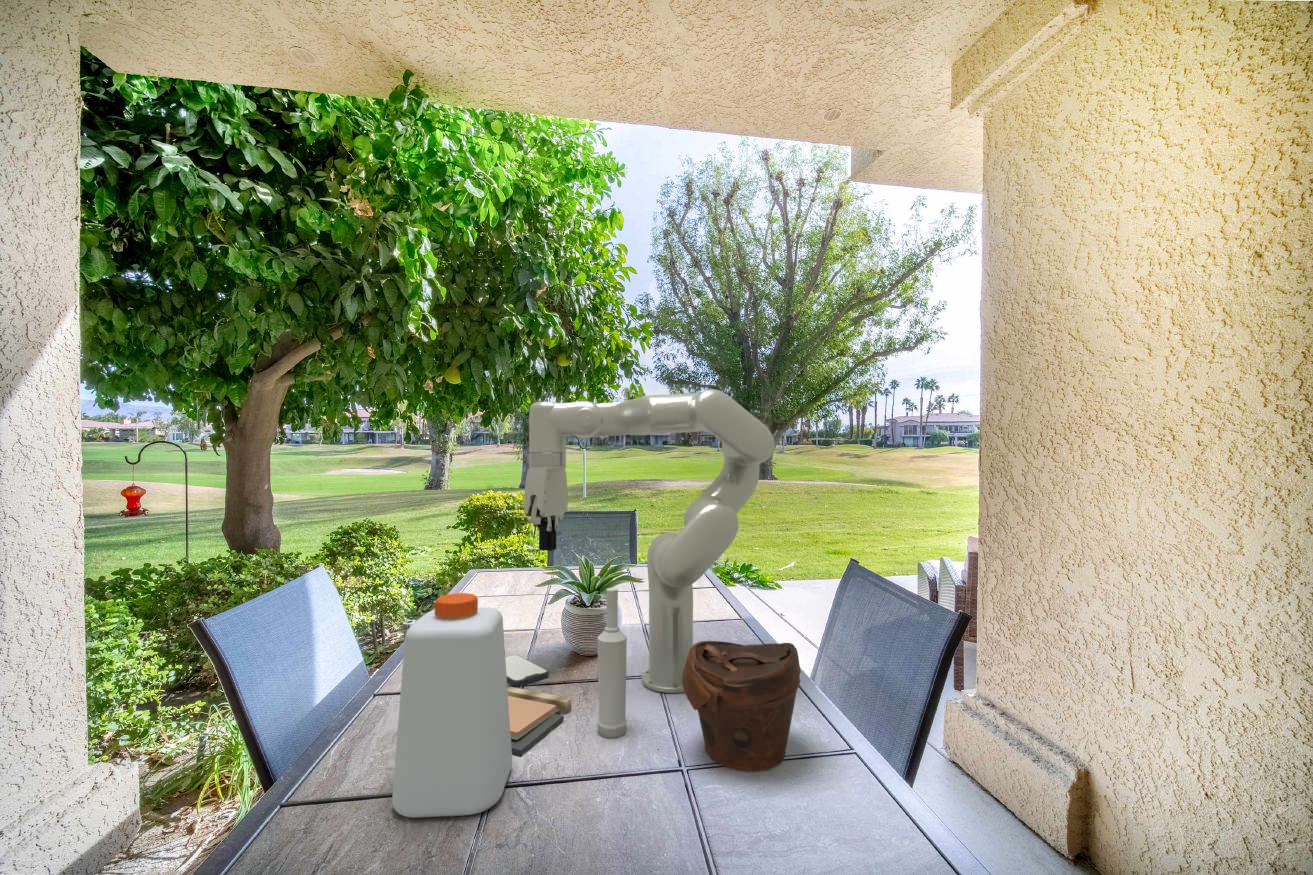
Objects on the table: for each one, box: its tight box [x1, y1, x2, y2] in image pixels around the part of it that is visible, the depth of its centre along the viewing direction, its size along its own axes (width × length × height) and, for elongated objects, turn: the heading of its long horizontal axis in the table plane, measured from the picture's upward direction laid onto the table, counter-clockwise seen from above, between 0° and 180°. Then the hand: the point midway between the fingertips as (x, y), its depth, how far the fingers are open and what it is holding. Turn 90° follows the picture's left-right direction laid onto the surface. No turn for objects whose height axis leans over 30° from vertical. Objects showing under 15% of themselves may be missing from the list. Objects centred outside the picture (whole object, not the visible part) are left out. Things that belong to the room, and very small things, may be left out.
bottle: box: [596, 587, 628, 739], centre depth 101 cm, size 5×5×25 cm
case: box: [682, 640, 802, 772], centre depth 94 cm, size 18×20×18 cm
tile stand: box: [507, 685, 572, 715], centre depth 111 cm, size 16×3×2 cm, turn 68°
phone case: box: [505, 654, 550, 688], centre depth 128 cm, size 9×2×16 cm
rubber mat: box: [511, 714, 564, 757], centre depth 102 cm, size 18×13×1 cm
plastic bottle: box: [391, 592, 513, 819], centre depth 84 cm, size 15×15×28 cm
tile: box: [508, 696, 556, 740], centre depth 103 cm, size 1×14×12 cm
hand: (547, 549), depth 118 cm, fingers closed
